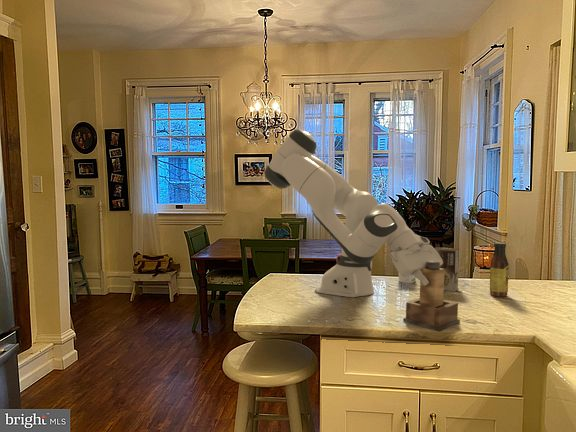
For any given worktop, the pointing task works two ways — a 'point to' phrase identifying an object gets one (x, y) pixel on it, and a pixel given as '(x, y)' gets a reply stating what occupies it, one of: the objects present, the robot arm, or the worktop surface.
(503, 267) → the sauce bottle
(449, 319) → the socket
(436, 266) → the cylinder
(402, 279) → the syrup box
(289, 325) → the worktop surface
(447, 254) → the coffee box
